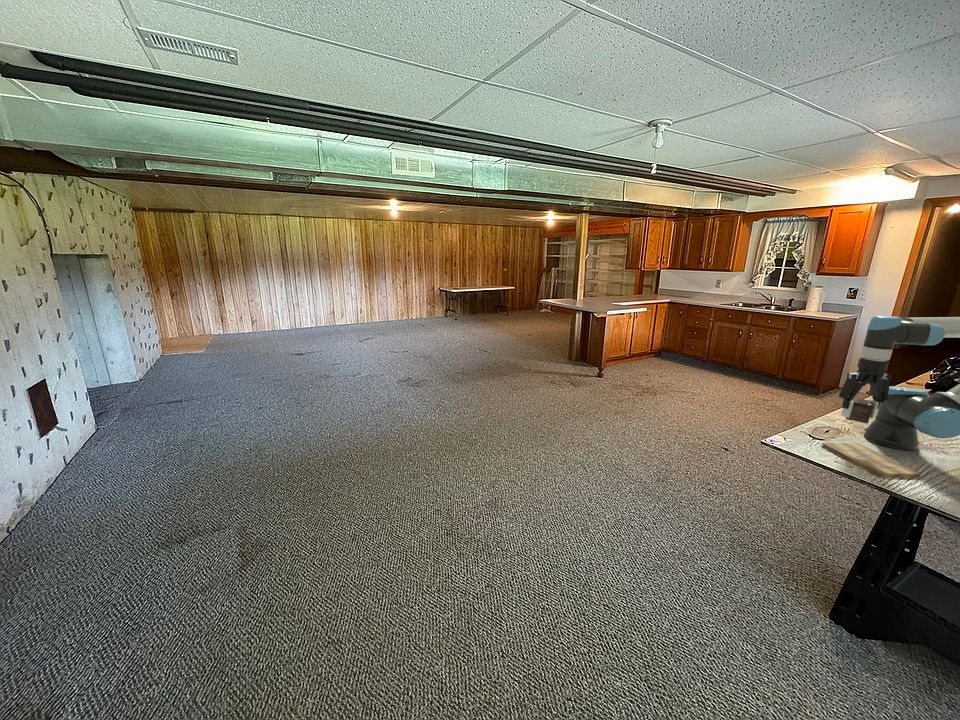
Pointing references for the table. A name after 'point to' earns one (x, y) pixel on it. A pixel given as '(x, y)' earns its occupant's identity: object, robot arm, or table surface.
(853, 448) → the oak board
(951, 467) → the table surface
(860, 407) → the box
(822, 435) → the table surface
